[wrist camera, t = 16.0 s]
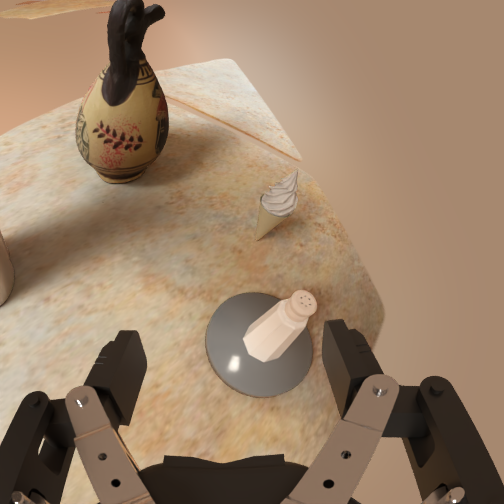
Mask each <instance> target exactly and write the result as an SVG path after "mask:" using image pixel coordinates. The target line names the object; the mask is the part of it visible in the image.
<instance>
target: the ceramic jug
mask: <svg viewBox="0 0 504 504" xmlns="http://www.w3.org/2000/svg"><path fill="white" fill-rule="evenodd" d="M164 16H165V11H164V9H163V8H162V7H161V6H160V5H157V4H153V5H152V6H148V7H147V8H145V9H144V3H143V1H142V0H117V1H115V3H114V4H113V6H112V8H111V11H110V14H109V20H108V24H107V28H108V32H107V33H108V46H109V58H110V63H109V64H108V65H107V66H106V67H105V68H104V70H102V72H101V73H100V75H99V76H98V77H97V79H96V80H95V81H94V83H93V84H92V86H90V88H89V90H88V92H87V93H86V95H85V97H84V98H83V101H82V103H81V106H80V108H79V112H78V116H77V120H76V129H75V132H76V143H77V146H78V149H79V152H80V153H81V155H82V157H83V158H84V160H85V161H86V162H87V163H88V164H89V165H90V166H92V167H93V168H94V169H95V170H96V172H97V174H98V175H99V176H100V177H101V179H103V180H104V181H105V182H108V183H124V182H128V181H131V180H134V179H137V178H139V177H140V176H141V175H142V174H143V173H144V172H145V169H146V168H147V166H149V165H150V164H151V163H152V162H153V161H154V160H155V159H156V158H157V157H158V155H159V154H160V152H161V151H162V149H163V147H164V145H165V143H166V139H167V136H168V130H169V117H168V107H167V102H166V100H165V96H164V93H163V91H162V88H161V86H160V85H159V82H158V79H157V77H156V76H155V73H154V72H153V70H152V68H151V66H150V65H149V63H148V62H147V60H146V57H145V54H144V53H143V51H142V49H141V47H142V42H143V39H144V35H145V33H146V30H147V28H148V27H149V26H150V25H152V24H153V23H155V22H156V21H159V20H160V19H163V18H164Z"/></svg>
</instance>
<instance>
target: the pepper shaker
mask: <svg viewBox="0 0 504 504" xmlns="http://www.w3.org/2000/svg"><path fill="white" fill-rule="evenodd" d="M316 309H317V302H316V299H315V298H314V296H313V295H312V294H311V293H309V292H308V291H305V290H297V291H295V292H294V293H293V294H292V296H291V297H290V298H289V299H285V300H281V301H280V302H278V303H277V304H276V305H275V306H273V307H272V308H271V309H270V310H268V311H267V312H266V313H265V314H263V315H262V316H261V317H260V318H258V319H257V320H256V321H255V322H254V323H252V324H251V325H250V326H249V328H248V330H247V332H246V334H245V336H244V338H243V341H244V343H245V346H246V348H247V351H248V354H249V355H251V356H253V357H255V358H256V359H258V360H260V361H262V362H267V361H270V360H274V359H277V358H279V357H280V356H281V355H282V354H283V352H284V351H285V350H286V349H287V348H288V347H289V346H290V344H291V343H292V342H293V341H294V340H295V339H296V338H297V336H298V335H299V334H300V333H301V332H302V331H303V329H304V328H305V327H306V324H307V321H308V318H309V316H311V315H312V314H314V313H315V311H316Z"/></svg>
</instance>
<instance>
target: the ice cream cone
mask: <svg viewBox="0 0 504 504" xmlns="http://www.w3.org/2000/svg"><path fill="white" fill-rule="evenodd" d="M297 175H298V169H296V170H295V171H294V172H292V173H291V174H289V175H288V176H287V177H285V178H281V180H282V182H279V183H277V182H276V183H275V186H274V187H273V186H270V185H269V186H268V187H269V188H270V191H269V192H264V194H262V195H261V197H260V208H259V215H258V222H257V230H256V237H255V240H256V241H258V240H259V239H261V238H262V237H263V236H264V235H266V234H267V233H268V232H269V231H271V230H272V229H273V228H274V227H275V226H277V225H278V224H279V223H281V222H282V221H283V220H284V219H286V218H287V217H289V216H291V214H292V213H293V211H294V210H295V208H296V205H297V201H298V197H297V194H296V191H297V187H298V185H297Z"/></svg>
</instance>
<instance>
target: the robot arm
mask: <svg viewBox="0 0 504 504" xmlns="http://www.w3.org/2000/svg"><path fill="white" fill-rule="evenodd" d="M13 285H14V269H13V266H12V263H11V261H10V259H9V251H8V248H7V246H6V243H5V241H4V238H3V236H2V233H1V231H0V306H1V305H2V304H3V303H4V302H5V301H6V299H7V298H8V297H9V295H10V293H11V291H12V288H13ZM322 359H323V363H324V366H325V369H326V372H327V375H328V378H329V382H330V385H331V388H332V391H333V394H334V397H335V400H336V403H337V406H338V410H339V413H340V416H341V419H340V420H339V422H338V423H337V425H336V427H335V428H334V430H333V432H332V433H331V435H330V437H329V438H328V440H327V441H326V443H325V444H324V446H323V448H322V449H321V451H320V452H319V454H318V455H317V457H316V458H315V460H314V461H313V463H312V464H311V466H310V467H309V468H308V467H306V466H304V465H300V464H297V463H292V462H285V460H284V454H278V455H266V456H253V457H249V458H245V459H241V460H237V461H233V462H228V463H216V462H212V461H207V460H203V459H199V458H195V457H182V456H166V455H164V461H163V463H160V464H156V465H152V466H149V467H147V468H145V469H143V470H140V468H139V467H138V465H137V463H136V462H135V460H134V459H133V457H132V455H131V453H130V452H129V450H128V448H127V446H126V445H125V443H124V441H123V439H122V437H121V435H120V434H119V432H118V428H119V425H126V426H129V424H130V421H131V418H132V414H133V411H134V408H135V404H136V401H137V398H138V395H139V392H140V389H141V385H142V382H143V379H144V376H145V373H146V370H147V359H146V355H145V352H144V349H143V346H142V343H141V340H140V336H139V333H138V332H137V331H136V330H121V331H119V333H118V335H117V337H116V338H115V340H114V341H110V342H109V343H108V344H107V345H105V346H104V347H103V348H102V350H101V352H100V354H99V356H98V358H97V359H96V361H95V364H94V365H93V367H92V369H91V371H90V373H89V375H88V377H87V379H86V381H85V383H84V385H83V386H79V387H76V388H74V389H72V390H71V391H70V392H69V393H68V394H67V396H66V398H64V399H56V400H50V399H49V398H48V396H47V395H46V394H45V393H44V392H41V391H35V392H32V393H30V394H28V395H27V396H26V397H25V398H24V399H23V401H22V402H21V404H20V406H19V408H18V410H17V412H16V414H15V416H14V418H13V420H12V422H11V424H10V426H9V428H8V430H7V432H6V435H5V437H4V439H3V441H2V443H1V445H0V504H60V501H61V497H62V493H63V489H64V486H65V482H66V478H67V475H68V471H69V468H70V464H71V461H72V457H73V454H74V451H75V448H76V447H77V450H78V453H79V455H80V458H81V460H82V463H83V465H84V468H85V470H86V472H87V475H88V477H89V479H90V482H91V484H92V486H93V488H94V490H95V492H96V495H97V497H98V499H99V501H100V502H99V503H98V504H361V503H359V502H357V501H356V500H355V499H353V498H352V497H351V496H352V494H353V492H354V490H355V489H356V487H357V485H358V483H359V481H360V479H361V477H362V475H363V474H364V471H365V470H366V468H367V466H368V464H369V462H370V460H371V457H372V455H373V453H374V451H375V449H376V447H377V444H378V442H379V440H380V438H381V437H401V438H402V440H403V443H404V446H405V449H406V452H407V454H408V458H409V461H410V463H411V467H412V469H413V473H414V476H415V479H416V482H417V485H418V488H419V491H420V495H421V498H422V501H423V502H422V503H421V504H504V485H503V483H502V481H501V478H500V476H499V474H498V472H497V470H496V467H495V465H494V463H493V461H492V459H491V457H490V455H489V453H488V451H487V449H486V447H485V445H484V443H483V441H482V439H481V437H480V435H479V433H478V431H477V429H476V427H475V425H474V423H473V422H472V420H471V418H470V416H469V414H468V412H467V411H466V409H465V407H464V405H463V403H462V402H461V400H460V398H459V396H458V395H457V393H456V392H455V390H454V388H453V386H452V385H451V383H450V382H449V381H448V380H446V379H445V378H442V377H439V376H430V377H427V378H425V379H424V380H423V381H422V382H421V384H420V386H401V385H398V383H397V382H396V380H394V379H393V378H392V377H390V376H387V375H384V373H383V371H382V369H381V368H380V366H379V364H378V362H377V360H376V358H375V356H374V354H373V352H371V348H370V347H369V345H368V343H367V341H366V339H365V337H364V336H363V335H362V334H361V333H360V332H358V331H357V330H356V329H351V330H348V328H347V326H346V324H345V322H344V320H343V319H338V320H329V321H325V323H324V332H323V343H322ZM43 438H44V439H45V440H44V443H43V445H42V448H41V451H40V453H39V455H38V450H39V447H40V444H41V441H42V439H43Z"/></svg>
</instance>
